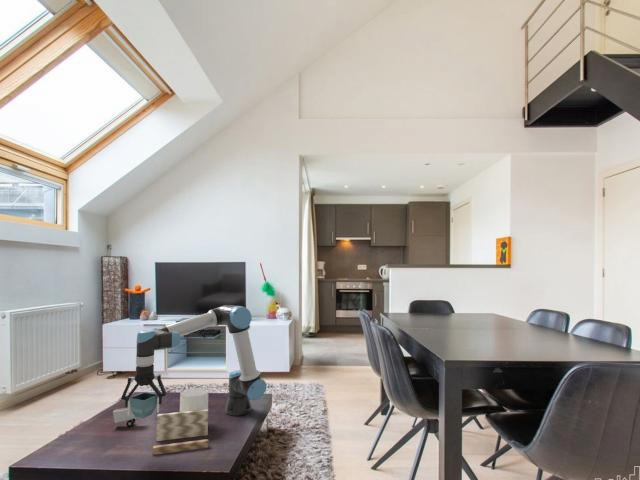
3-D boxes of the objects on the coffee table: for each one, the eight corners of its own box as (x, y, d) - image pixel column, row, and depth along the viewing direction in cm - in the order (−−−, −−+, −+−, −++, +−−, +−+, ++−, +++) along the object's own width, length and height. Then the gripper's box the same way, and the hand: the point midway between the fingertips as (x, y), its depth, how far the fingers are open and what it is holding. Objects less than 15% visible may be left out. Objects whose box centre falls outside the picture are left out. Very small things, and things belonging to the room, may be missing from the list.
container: (174, 427, 201) (175, 392, 203) (198, 419, 212) (199, 386, 213) (187, 435, 192) (189, 398, 193) (212, 426, 202) (213, 392, 203)
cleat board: (207, 433, 193) (208, 409, 194) (208, 447, 178) (208, 421, 179) (156, 439, 186) (157, 414, 187) (152, 454, 171) (153, 427, 172)
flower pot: (158, 413, 176) (158, 394, 177) (143, 421, 168) (144, 400, 169) (143, 411, 179) (144, 391, 180) (128, 418, 171) (129, 398, 172)
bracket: (115, 430, 199) (145, 423, 201) (112, 412, 199) (141, 404, 202) (118, 427, 203) (147, 420, 205) (115, 409, 203) (144, 402, 206)
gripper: (173, 360, 182) (172, 407, 181) (118, 364, 175) (116, 412, 174) (171, 364, 175) (170, 413, 173) (114, 368, 168) (112, 419, 167)
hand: (143, 413), depth 174 cm, fingers closed on flower pot, 11 cm apart
